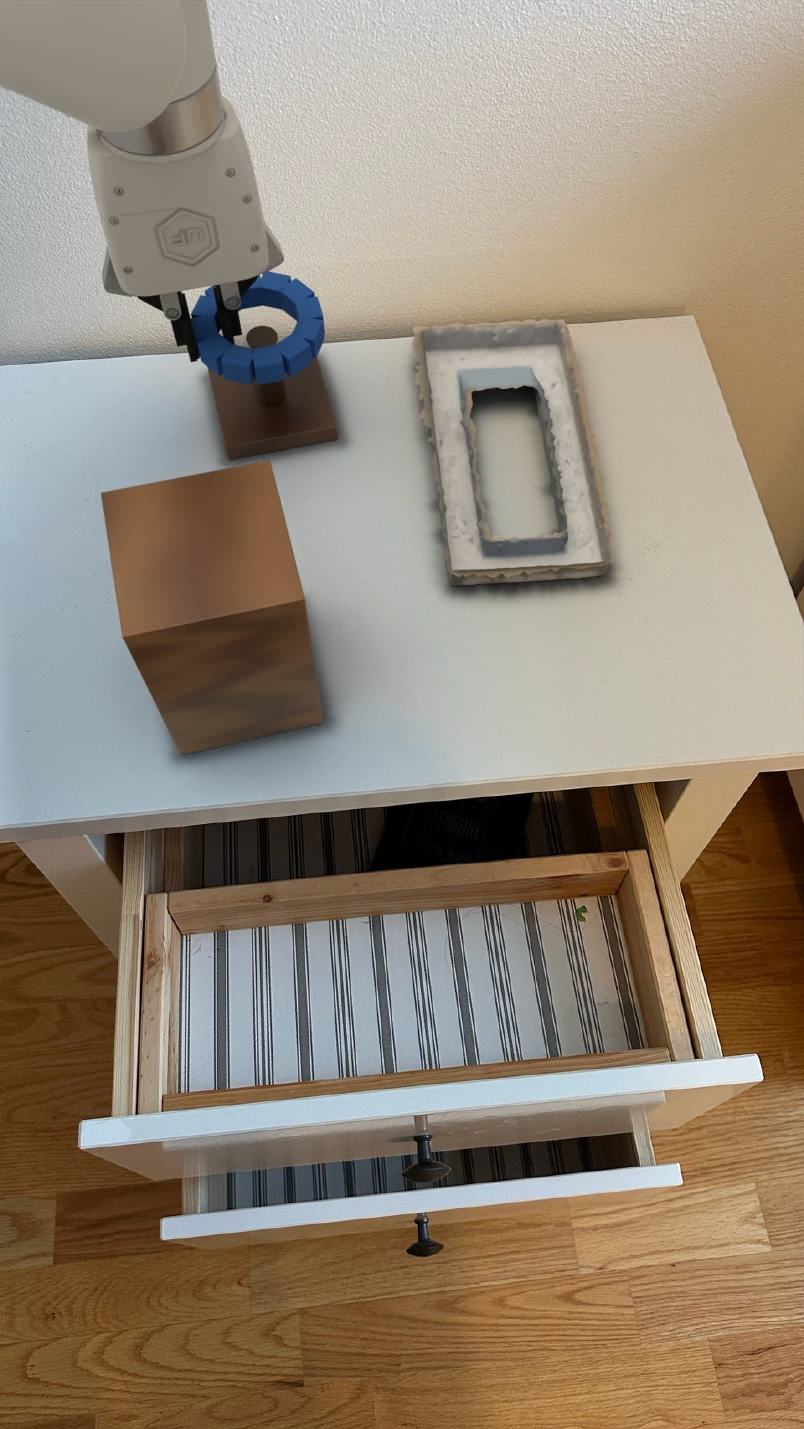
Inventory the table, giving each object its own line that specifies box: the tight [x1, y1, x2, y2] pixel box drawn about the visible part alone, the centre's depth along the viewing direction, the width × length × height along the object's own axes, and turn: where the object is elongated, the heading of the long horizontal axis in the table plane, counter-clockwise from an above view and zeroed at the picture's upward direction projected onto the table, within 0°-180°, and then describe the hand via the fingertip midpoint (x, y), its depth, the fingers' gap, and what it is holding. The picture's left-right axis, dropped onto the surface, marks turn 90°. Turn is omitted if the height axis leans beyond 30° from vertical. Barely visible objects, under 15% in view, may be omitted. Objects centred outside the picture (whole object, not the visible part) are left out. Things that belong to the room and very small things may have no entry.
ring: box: [190, 271, 326, 385], centre depth 73 cm, size 10×10×2 cm
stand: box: [100, 459, 324, 756], centre depth 62 cm, size 10×10×16 cm
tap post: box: [206, 325, 339, 461], centre depth 77 cm, size 9×9×8 cm
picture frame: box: [411, 318, 616, 586], centre depth 77 cm, size 13×25×3 cm, turn 6°
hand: (210, 343), depth 73 cm, fingers closed on ring, 2 cm apart
